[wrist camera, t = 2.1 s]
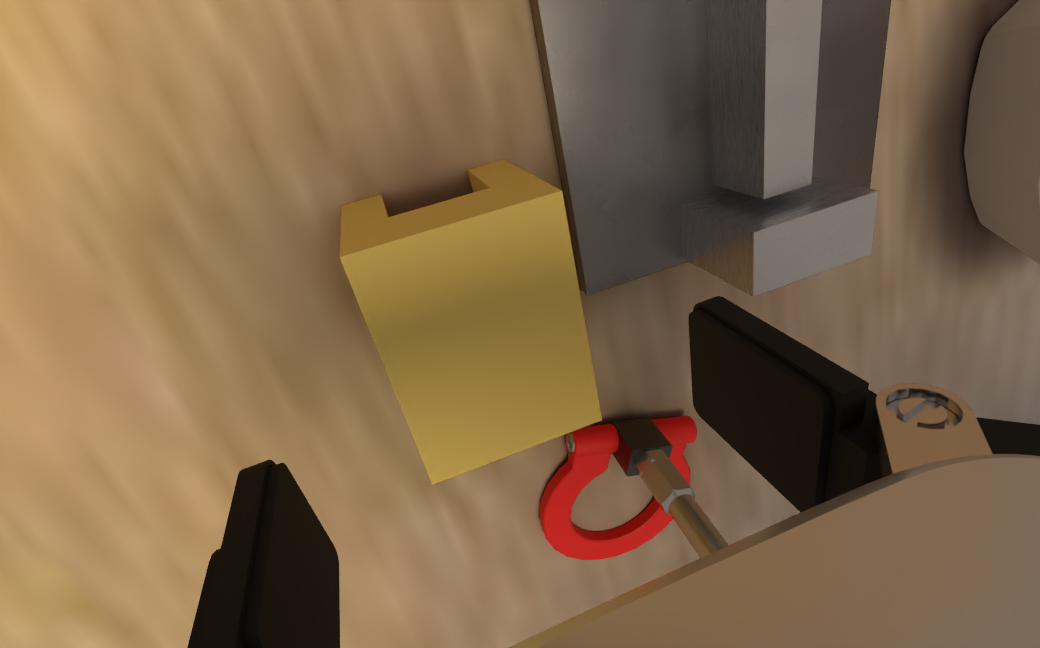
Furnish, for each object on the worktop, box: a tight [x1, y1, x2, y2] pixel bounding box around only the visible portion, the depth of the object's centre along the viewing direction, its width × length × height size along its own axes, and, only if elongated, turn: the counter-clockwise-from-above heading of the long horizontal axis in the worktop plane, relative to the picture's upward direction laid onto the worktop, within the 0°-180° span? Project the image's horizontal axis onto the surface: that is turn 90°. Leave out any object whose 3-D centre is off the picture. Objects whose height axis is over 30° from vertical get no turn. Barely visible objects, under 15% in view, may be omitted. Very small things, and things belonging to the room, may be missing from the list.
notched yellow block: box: [339, 160, 602, 485], centre depth 18 cm, size 6×8×6 cm
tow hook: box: [539, 416, 729, 560], centre depth 23 cm, size 8×13×9 cm
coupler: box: [530, 0, 891, 297], centre depth 17 cm, size 14×18×5 cm
